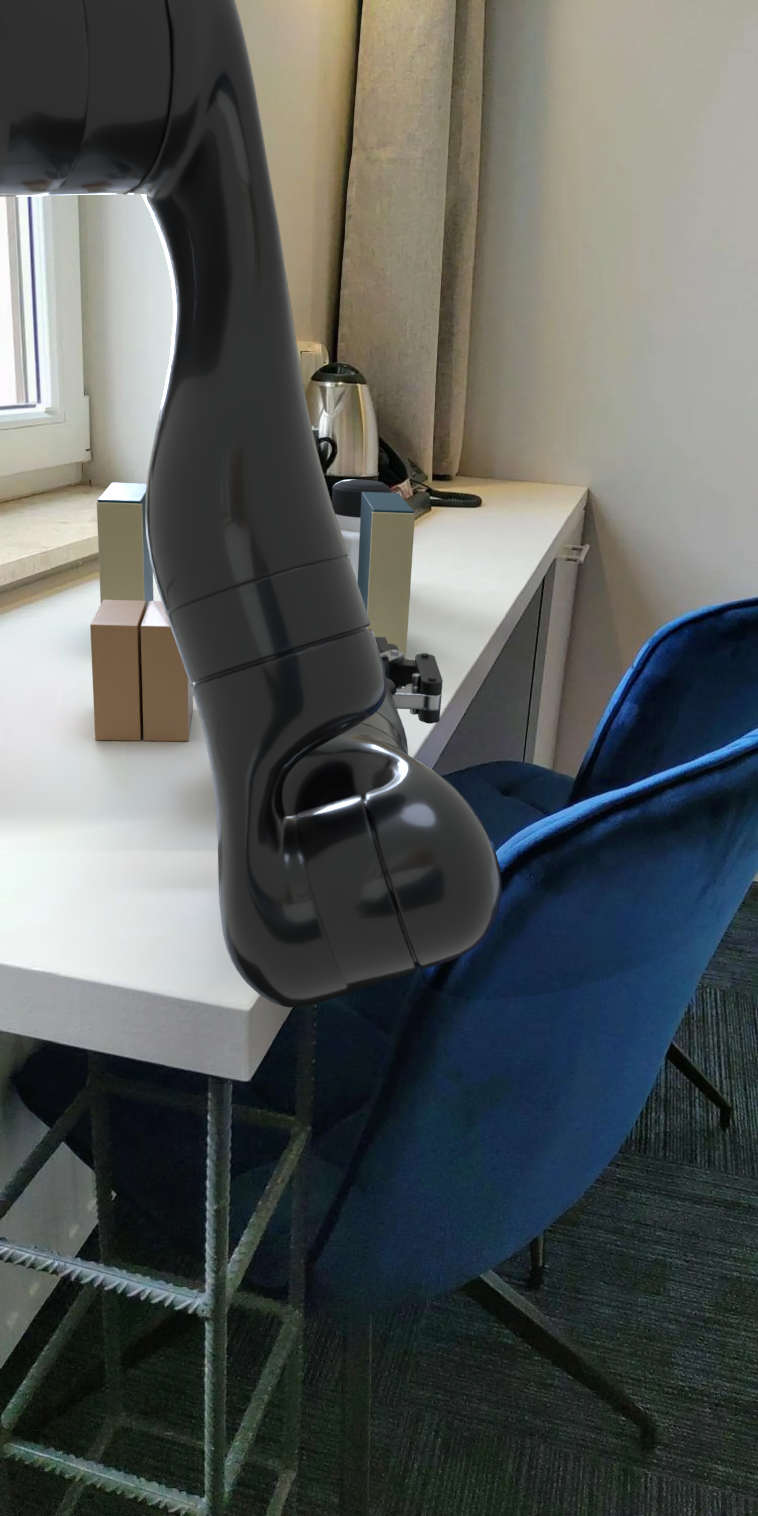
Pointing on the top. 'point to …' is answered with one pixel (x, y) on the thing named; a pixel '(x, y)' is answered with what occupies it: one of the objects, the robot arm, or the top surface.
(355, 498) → the medicine bottle
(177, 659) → the tan book
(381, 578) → the teal book
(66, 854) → the top surface
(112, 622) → the tan book
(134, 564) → the teal book
